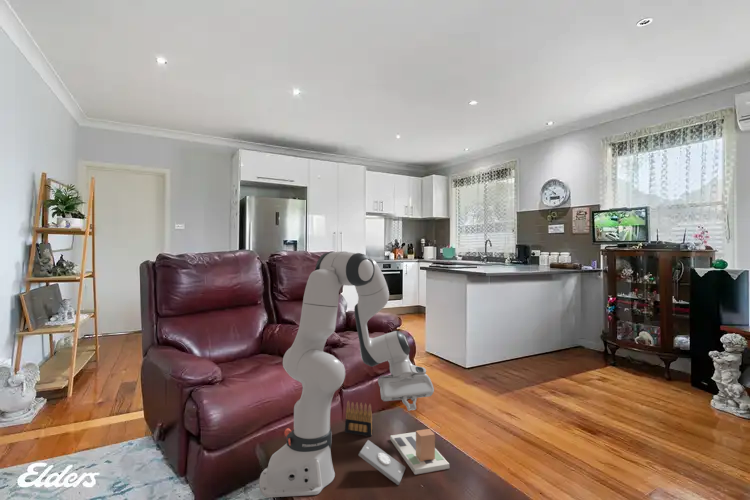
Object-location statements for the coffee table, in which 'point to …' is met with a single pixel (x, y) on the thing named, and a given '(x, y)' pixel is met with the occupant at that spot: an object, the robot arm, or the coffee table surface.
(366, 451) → the light switch
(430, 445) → the tan rectangular block
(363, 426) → the ammunition clip
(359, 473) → the coffee table surface
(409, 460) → the switch board
